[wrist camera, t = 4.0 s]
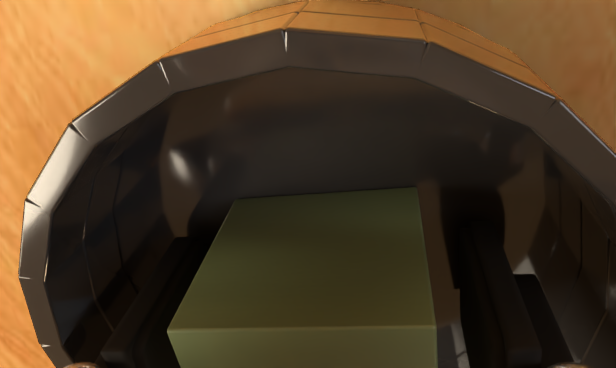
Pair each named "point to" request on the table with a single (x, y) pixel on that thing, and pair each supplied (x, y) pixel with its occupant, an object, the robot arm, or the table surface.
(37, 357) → the table surface
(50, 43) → the table surface
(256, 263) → the block
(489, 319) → the robot arm
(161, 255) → the pan
